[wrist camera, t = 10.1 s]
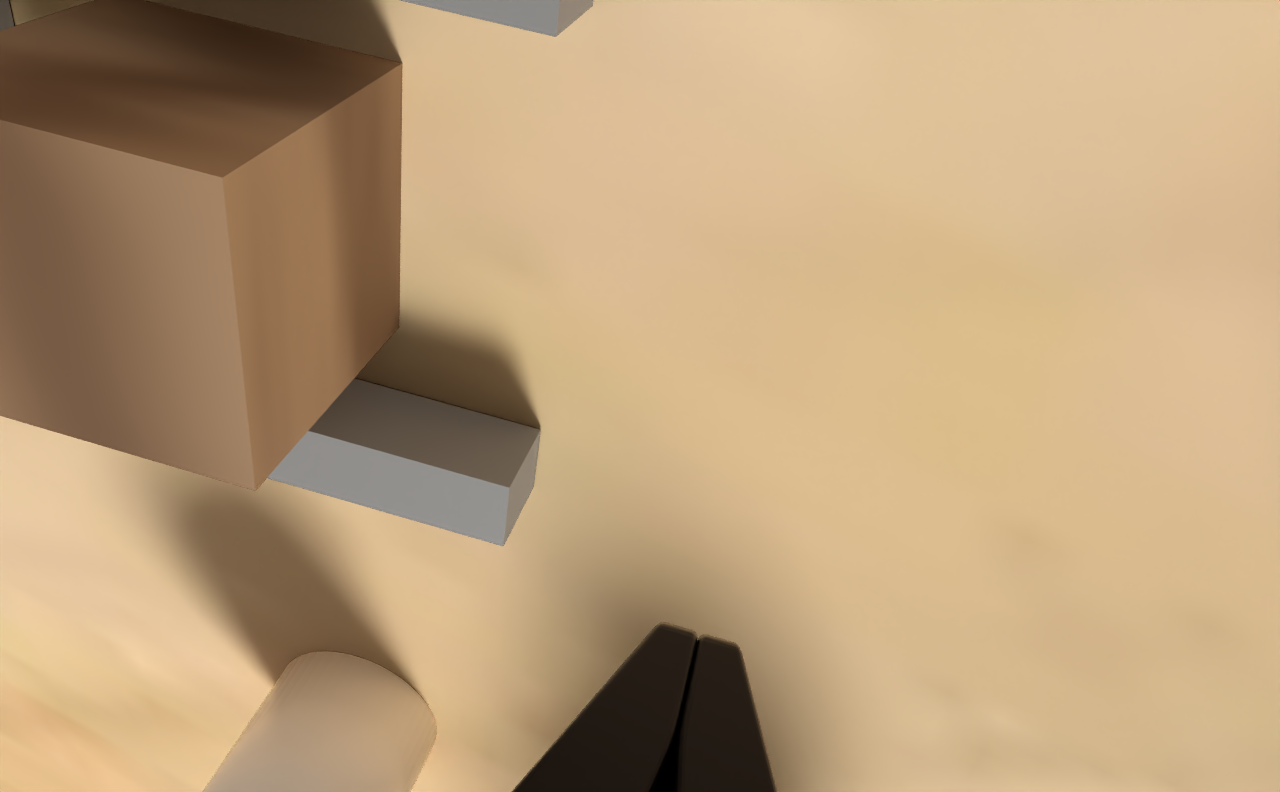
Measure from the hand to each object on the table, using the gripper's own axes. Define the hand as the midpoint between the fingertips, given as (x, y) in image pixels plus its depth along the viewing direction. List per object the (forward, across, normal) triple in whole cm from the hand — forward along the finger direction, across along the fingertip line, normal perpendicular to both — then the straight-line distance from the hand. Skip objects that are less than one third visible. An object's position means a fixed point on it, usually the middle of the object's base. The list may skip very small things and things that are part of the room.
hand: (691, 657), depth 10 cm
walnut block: (+8, +9, 0) cm, 12 cm away
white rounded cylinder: (+8, +8, +15) cm, 19 cm away
